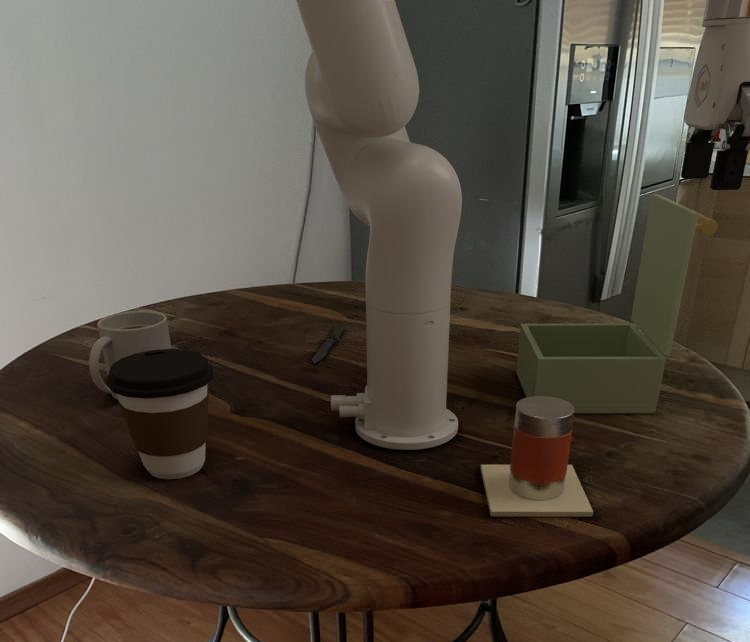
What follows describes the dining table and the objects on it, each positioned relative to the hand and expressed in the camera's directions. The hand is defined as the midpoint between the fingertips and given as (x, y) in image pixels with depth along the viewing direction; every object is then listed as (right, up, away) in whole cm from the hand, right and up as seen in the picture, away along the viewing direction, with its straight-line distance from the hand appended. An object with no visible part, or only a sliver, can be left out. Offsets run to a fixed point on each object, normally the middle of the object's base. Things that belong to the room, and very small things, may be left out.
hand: (708, 183), depth 87 cm
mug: (-72, -23, +15) cm, 77 cm away
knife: (-47, -13, +32) cm, 58 cm away
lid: (-4, -9, +5) cm, 11 cm away
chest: (-11, -23, +13) cm, 29 cm away
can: (-23, -36, -10) cm, 44 cm away
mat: (-23, -37, -10) cm, 44 cm away
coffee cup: (-62, -34, -4) cm, 71 cm away
